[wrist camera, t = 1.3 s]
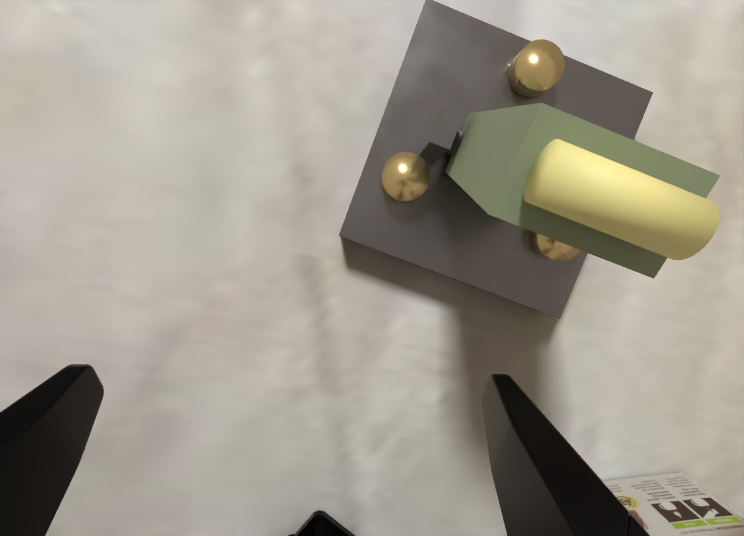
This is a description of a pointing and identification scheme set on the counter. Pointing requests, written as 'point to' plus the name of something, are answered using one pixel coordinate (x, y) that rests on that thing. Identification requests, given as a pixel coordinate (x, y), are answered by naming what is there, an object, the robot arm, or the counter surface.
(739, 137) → the counter surface
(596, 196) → the green lever
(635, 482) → the coffee box
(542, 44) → the base
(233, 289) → the counter surface
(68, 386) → the robot arm
